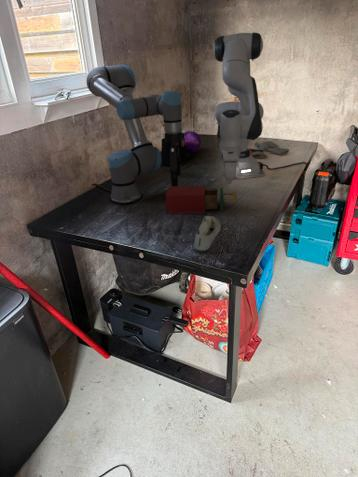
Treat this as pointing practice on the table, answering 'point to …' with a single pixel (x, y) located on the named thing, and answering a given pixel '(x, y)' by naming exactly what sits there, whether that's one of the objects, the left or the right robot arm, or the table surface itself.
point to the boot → (218, 138)
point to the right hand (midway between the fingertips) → (229, 182)
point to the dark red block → (185, 199)
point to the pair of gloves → (267, 149)
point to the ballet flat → (206, 233)
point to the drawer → (212, 198)
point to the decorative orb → (192, 141)
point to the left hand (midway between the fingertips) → (176, 180)
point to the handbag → (166, 152)
